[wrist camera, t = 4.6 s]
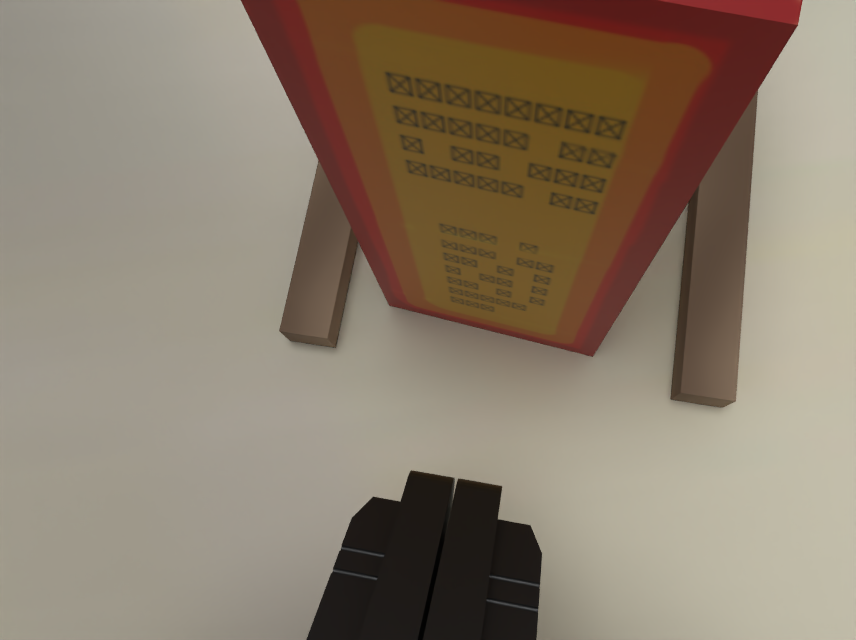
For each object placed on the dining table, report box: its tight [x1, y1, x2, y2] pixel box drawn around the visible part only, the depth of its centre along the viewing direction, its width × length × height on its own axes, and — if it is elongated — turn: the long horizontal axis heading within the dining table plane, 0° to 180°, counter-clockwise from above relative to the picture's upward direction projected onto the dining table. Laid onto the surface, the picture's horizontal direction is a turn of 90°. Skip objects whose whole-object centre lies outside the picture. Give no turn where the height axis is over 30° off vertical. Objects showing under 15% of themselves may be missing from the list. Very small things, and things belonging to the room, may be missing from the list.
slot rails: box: [279, 90, 758, 407], centre depth 24 cm, size 13×15×1 cm
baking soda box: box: [241, 0, 802, 357], centre depth 16 cm, size 10×6×16 cm
